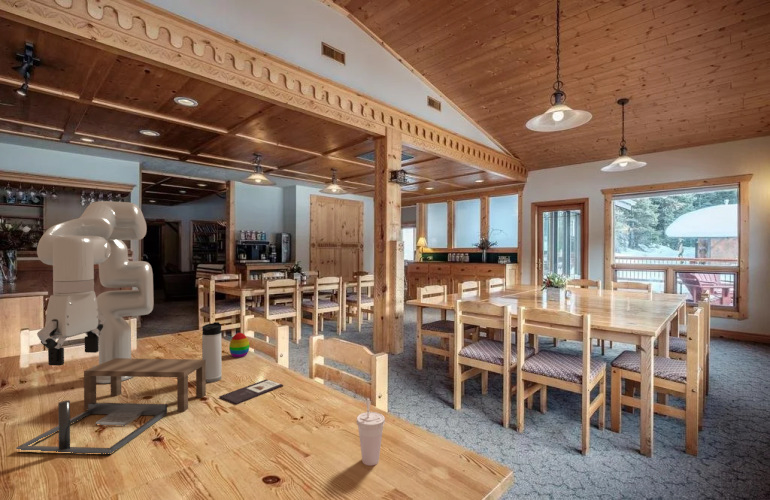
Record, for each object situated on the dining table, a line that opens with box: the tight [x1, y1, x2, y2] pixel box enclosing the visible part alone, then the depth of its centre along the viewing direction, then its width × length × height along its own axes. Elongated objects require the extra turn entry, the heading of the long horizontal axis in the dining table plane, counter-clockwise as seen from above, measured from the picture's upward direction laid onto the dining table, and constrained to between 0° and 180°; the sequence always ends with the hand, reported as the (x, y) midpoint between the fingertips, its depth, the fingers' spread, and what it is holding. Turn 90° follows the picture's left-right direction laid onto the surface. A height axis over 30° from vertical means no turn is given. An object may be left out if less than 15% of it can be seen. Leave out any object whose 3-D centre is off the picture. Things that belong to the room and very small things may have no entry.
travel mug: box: [201, 321, 223, 383], centre depth 134 cm, size 6×7×20 cm
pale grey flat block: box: [95, 412, 142, 427], centre depth 103 cm, size 8×6×2 cm
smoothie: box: [355, 398, 386, 466], centre depth 84 cm, size 6×6×14 cm
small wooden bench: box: [83, 357, 207, 413], centre depth 115 cm, size 30×12×12 cm, turn 88°
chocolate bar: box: [219, 379, 284, 406], centre depth 123 cm, size 9×1×18 cm
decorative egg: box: [228, 332, 250, 358], centre depth 163 cm, size 8×8×10 cm
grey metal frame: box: [15, 399, 168, 454], centre depth 96 cm, size 22×22×12 cm
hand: (74, 358), depth 90 cm, fingers open, 9 cm apart
